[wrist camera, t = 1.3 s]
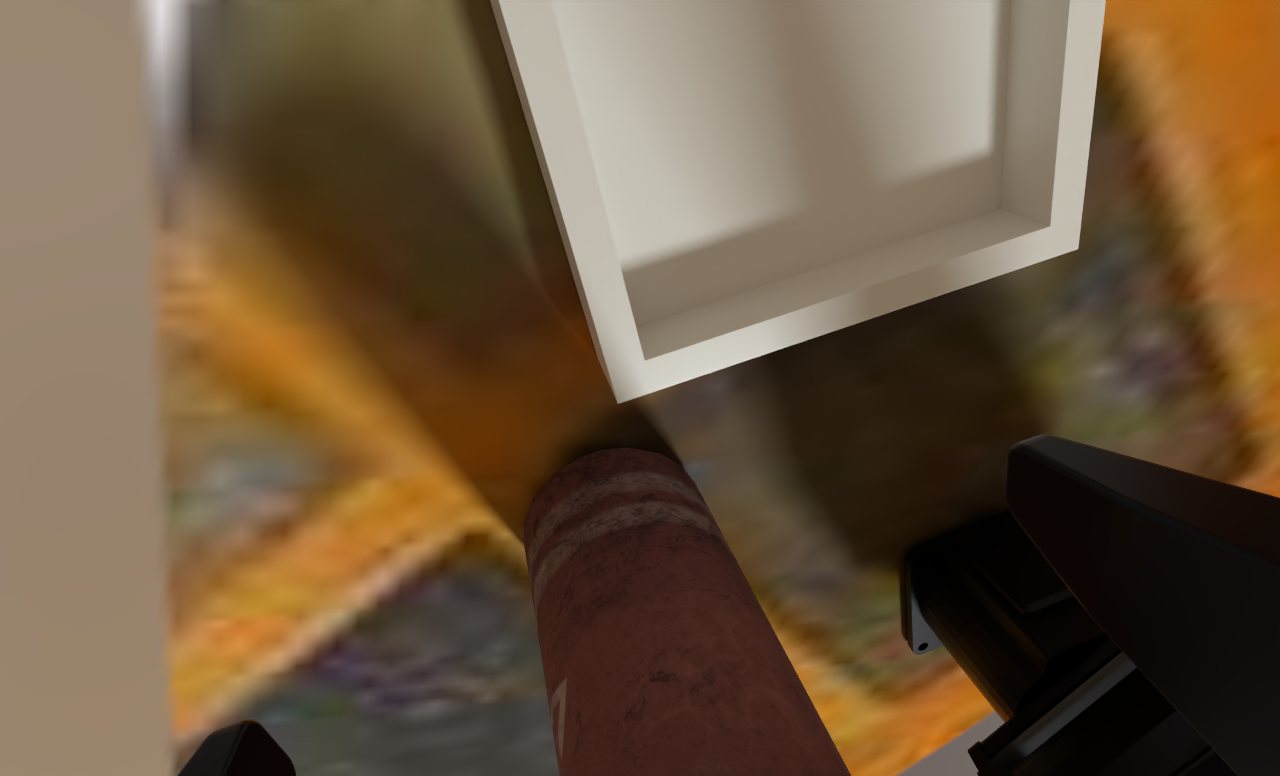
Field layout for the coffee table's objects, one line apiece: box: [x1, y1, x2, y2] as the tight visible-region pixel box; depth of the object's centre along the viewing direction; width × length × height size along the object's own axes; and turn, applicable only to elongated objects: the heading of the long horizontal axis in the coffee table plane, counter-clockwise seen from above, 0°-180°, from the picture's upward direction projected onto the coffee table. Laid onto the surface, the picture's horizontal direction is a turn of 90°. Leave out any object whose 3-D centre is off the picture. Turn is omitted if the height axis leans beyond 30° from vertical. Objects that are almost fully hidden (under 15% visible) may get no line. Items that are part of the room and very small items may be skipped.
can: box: [524, 447, 851, 776], centre depth 18 cm, size 6×6×14 cm
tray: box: [490, 0, 1106, 404], centre depth 17 cm, size 14×14×3 cm
